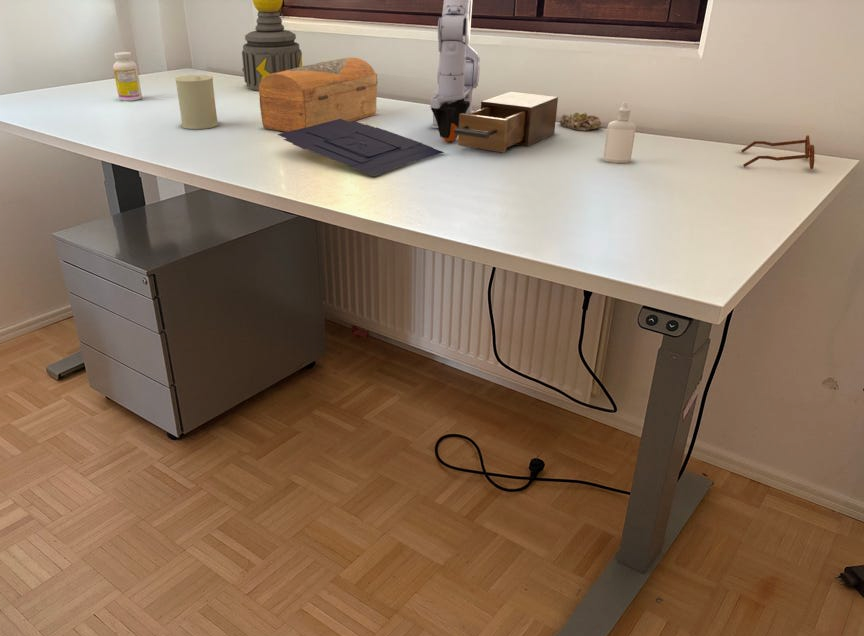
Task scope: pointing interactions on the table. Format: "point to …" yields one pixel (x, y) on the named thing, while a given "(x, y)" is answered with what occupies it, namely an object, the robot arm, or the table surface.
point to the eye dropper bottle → (620, 138)
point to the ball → (451, 134)
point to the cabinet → (530, 113)
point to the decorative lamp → (268, 46)
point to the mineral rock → (580, 121)
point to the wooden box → (318, 94)
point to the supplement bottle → (126, 77)
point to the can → (197, 101)
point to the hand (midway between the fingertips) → (449, 135)
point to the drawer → (492, 128)
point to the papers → (360, 145)
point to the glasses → (807, 155)
